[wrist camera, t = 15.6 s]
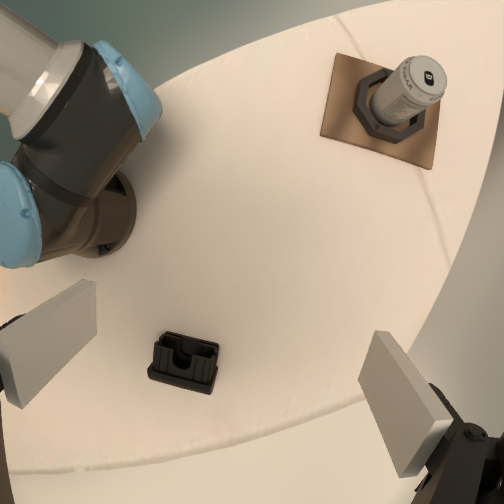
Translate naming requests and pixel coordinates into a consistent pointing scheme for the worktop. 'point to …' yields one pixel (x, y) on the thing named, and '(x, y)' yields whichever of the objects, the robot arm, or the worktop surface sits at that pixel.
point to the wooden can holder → (364, 122)
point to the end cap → (184, 362)
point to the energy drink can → (409, 90)
